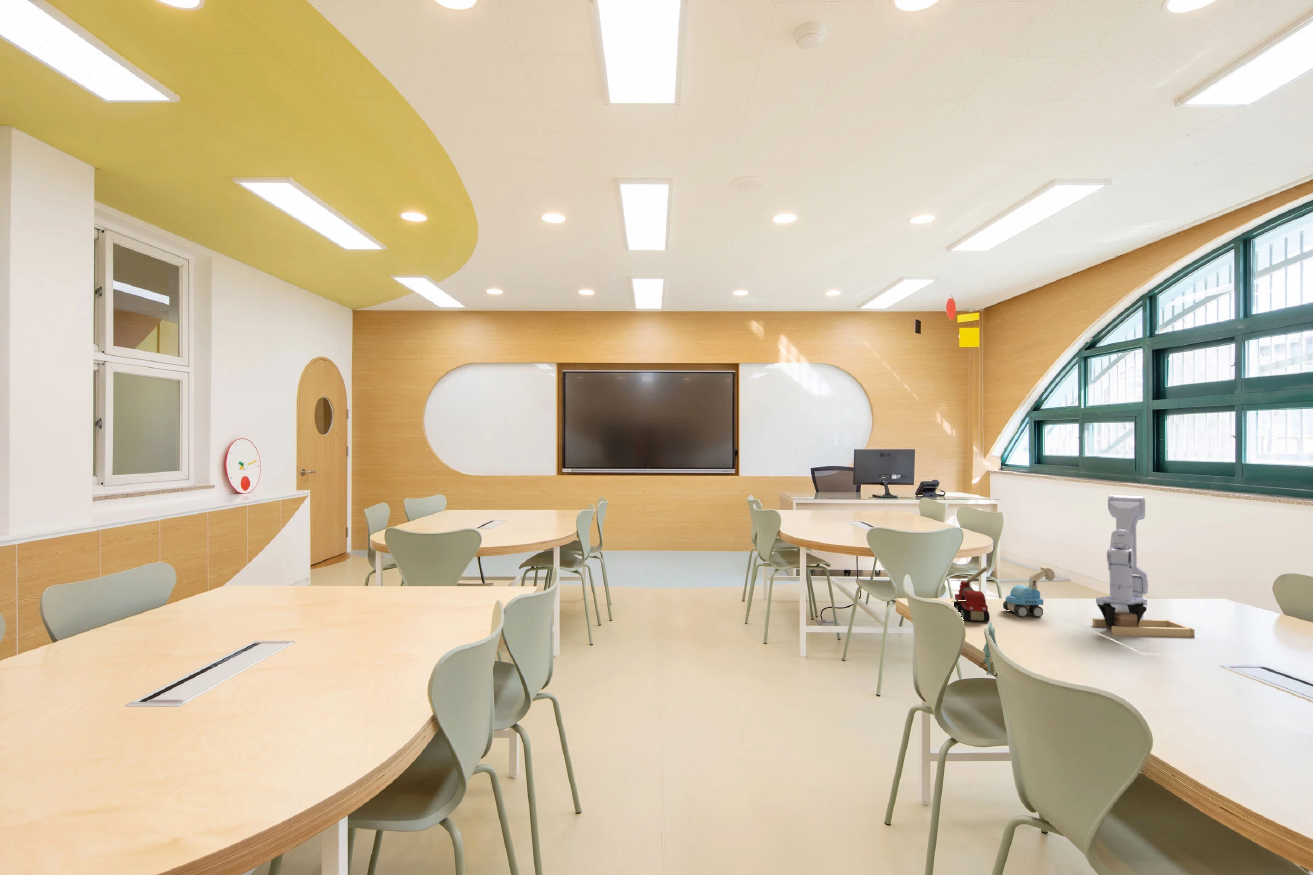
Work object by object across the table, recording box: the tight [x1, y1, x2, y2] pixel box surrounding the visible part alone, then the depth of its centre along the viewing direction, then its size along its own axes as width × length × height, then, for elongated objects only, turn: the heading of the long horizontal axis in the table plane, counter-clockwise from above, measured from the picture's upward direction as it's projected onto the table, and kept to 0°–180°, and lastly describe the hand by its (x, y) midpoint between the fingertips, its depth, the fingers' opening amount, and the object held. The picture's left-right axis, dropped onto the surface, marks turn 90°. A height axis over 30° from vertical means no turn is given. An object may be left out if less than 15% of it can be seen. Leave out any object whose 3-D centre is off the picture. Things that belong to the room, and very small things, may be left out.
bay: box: [1092, 617, 1195, 638], centre depth 180 cm, size 10×24×3 cm, turn 85°
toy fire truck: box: [951, 566, 990, 622], centre depth 198 cm, size 11×16×18 cm
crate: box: [1106, 610, 1137, 630], centre depth 180 cm, size 6×5×6 cm
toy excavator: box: [1002, 566, 1056, 618], centre depth 201 cm, size 9×17×17 cm, turn 89°
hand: (1121, 626), depth 180 cm, fingers open, 7 cm apart
